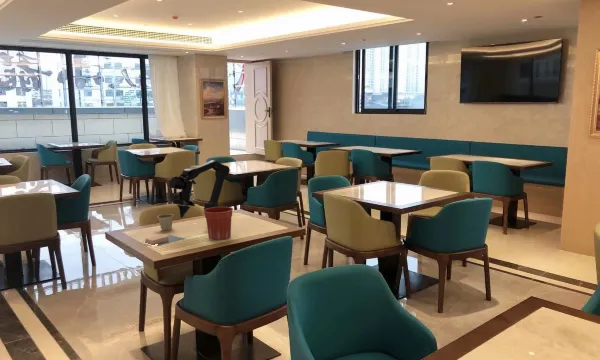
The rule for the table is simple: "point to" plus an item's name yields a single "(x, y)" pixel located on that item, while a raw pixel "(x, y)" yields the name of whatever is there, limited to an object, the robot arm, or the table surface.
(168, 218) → the flower pot
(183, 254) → the table surface
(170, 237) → the mat
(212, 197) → the robot arm
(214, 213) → the flower pot
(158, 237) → the salmon rectangular block
